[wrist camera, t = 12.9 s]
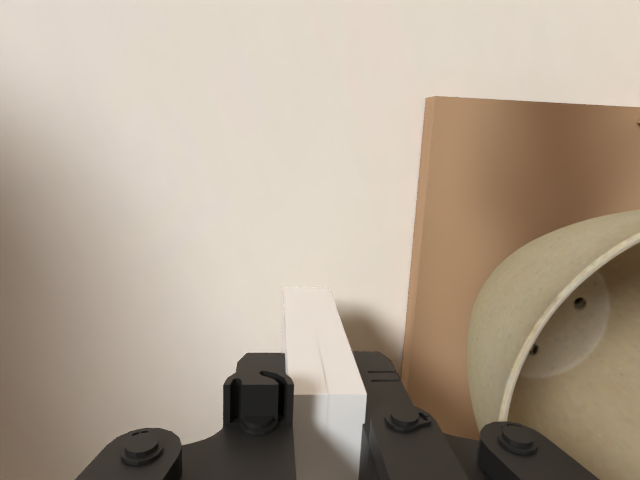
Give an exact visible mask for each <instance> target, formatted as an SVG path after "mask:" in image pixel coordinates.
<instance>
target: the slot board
mask: <svg viewBox="0 0 640 480" xmlns="http://www.w3.org/2000/svg"><path fill="white" fill-rule="evenodd" d="M633 210H640V107H622V106H604V105H585V104H567V103H549V102H531V101H513V100H495V99H477V98H459V97H441V96H434V97H429V98H426V102H425V113H424V125H423V136H422V147H421V158H420V169H419V181H418V192H417V203H416V214H415V225H414V236H413V248H412V259H411V270H410V281H409V292H408V304H407V315H406V326H405V337H404V348H403V360H402V371H401V382H402V383H403V385H404V387H405V389H406V391H407V393H408V395H409V397H410V399H411V401H412V403H413V405H414V406H415V407H419V408H421V409H423V410H424V411H426V412H428V413H429V414H431V416H432V417H433V418H434V419H435V420H436V421H437V423H438V425H439V427H440V429H441V430H442V432H443V433H446V434H449V435H453V436H457V437H462V438H468V439H473V440H478V441H479V437H480V434H479V430H478V427H477V423H476V420H475V416H474V411H473V407H472V402H471V397H470V391H469V384H468V376H467V362H466V347H467V335H468V327H469V321H470V317H471V313H472V309H473V306H474V303H475V301H476V298H477V296H478V294H479V292H480V290H481V288H482V286H483V284H484V283H485V281H486V280H487V278H488V277H489V276H490V274H491V273H492V272H493V271H494V269H495V268H496V267H497V266H498V265H499V264H500V263H501V262H502V261H504V260H505V259H506V258H507V257H508V256H509V255H511V254H512V253H513V252H515V251H516V250H517V249H519V248H521V247H522V246H524V245H525V244H527V243H529V242H531V241H533V240H535V239H537V238H539V237H541V236H543V235H545V234H548V233H550V232H553V231H555V230H557V229H560V228H563V227H566V226H568V225H571V224H574V223H578V222H581V221H584V220H588V219H592V218H596V217H600V216H604V215H610V214H615V213H620V212H626V211H633ZM579 300H580V298H578V299H576V300H575V302H578V301H579ZM536 351H537V346H535V347H534V348H533V353H535V352H536Z"/></svg>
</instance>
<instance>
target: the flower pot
mask: <svg viewBox="0 0 640 480" xmlns="http://www.w3.org/2000/svg"><path fill="white" fill-rule="evenodd" d="M578 298H580V300H579V301H578V302H575V300H576V299H578ZM535 346H537V351H536V352H535V353H533V348H534V347H535ZM466 362H467V376H468V384H469V391H470V397H471V402H472V407H473V411H474V416H475V420H476V423H477V427H478V430H479V434H480V431H481V430H482V428H483V427H484V426H485V425H486V424H489V423H492V422H500V421H509V422H512V423H514V422H515V423H520V424H522V425H524V426H527V427H529V428H532V429H534V430H536V431H537V432H539V433H540V434H542V435H544V436H545V437H546V438H548V439H549V440H550V441H552V442H553V443H554V444H555V445H557V446H558V447H559V448H560V449H562V450H563V451H564V452H565V453H567V454H568V455H569V456H571V457H572V458H573V459H574V460H576V461H577V462H578V463H579V464H581V465H582V466H583V467H584V468H586V469H587V470H588V471H590V472H591V473H592V474H593V475H595V476H596V477H597V478H598V479H600V480H640V210H633V211H626V212H620V213H615V214H610V215H604V216H600V217H596V218H592V219H588V220H584V221H581V222H578V223H574V224H571V225H568V226H566V227H563V228H560V229H557V230H555V231H553V232H550V233H548V234H545V235H543V236H541V237H539V238H537V239H535V240H533V241H531V242H529V243H527V244H525V245H524V246H522V247H521V248H519V249H517V250H516V251H515V252H513V253H512V254H511V255H509V256H508V257H507V258H506V259H505V260H504V261H502V262H501V263H500V264H499V265H498V266H497V267H496V268H495V269H494V271H493V272H492V273H491V274H490V276H489V277H488V278H487V280H486V281H485V283H484V284H483V286H482V288H481V290H480V292H479V294H478V296H477V298H476V301H475V303H474V306H473V309H472V313H471V317H470V321H469V327H468V335H467V347H466Z"/></svg>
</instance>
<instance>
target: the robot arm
mask: <svg viewBox="0 0 640 480" xmlns="http://www.w3.org/2000/svg"><path fill="white" fill-rule="evenodd" d="M75 480H600V479H598V478H597V477H596V476H595V475H593V474H592V473H591V472H590V471H588V470H587V469H586V468H584V467H583V466H582V465H581V464H579V463H578V462H577V461H576V460H574V459H573V458H572V457H571V456H569V455H568V454H567V453H565V452H564V451H563V450H562V449H560V448H559V447H558V446H557V445H555V444H554V443H553V442H552V441H550V440H549V439H548V438H546V437H545V436H544V435H542V434H540V433H539V432H537V431H536V430H534V429H532V428H529V427H527V426H524V425H522V424H520V423H515V422H514V423H512V422H509V421H500V422H492V423H489V424H486V425H485V426H484V427H483V428H482V430H481V431H480V437H479V441H478V440H473V439H468V438H462V437H457V436H453V435H449V434H446V433H443V432H442V430H441V429H440V427H439V425H438V423H437V421H436V420H435V419H434V418H433V417H432V416H431V414H429V413H428V412H426V411H424V410H423V409H421V408H419V407H415V406H414V405H413V403H412V401H411V399H410V397H409V395H408V393H407V391H406V389H405V387H404V385H403V383H402V382H401V379H400V378H399V376H398V374H397V373H396V370H395V368H394V366H393V364H392V362H391V360H389V359H388V358H387V357H385V356H384V355H383V354H381V353H380V352H352V351H351V348H350V345H349V342H348V339H347V336H346V333H345V331H344V328H343V325H342V322H341V319H340V316H339V314H338V311H337V308H336V305H335V302H334V299H333V297H332V294H331V291H330V288H329V287H286V286H283V316H282V347H281V353H246V354H245V355H244V356H243V357H242V358H241V359H240V360H239V361H238V363H237V369H236V373H234V374H233V375H231V376H230V377H228V378H227V380H226V381H225V383H224V385H223V428H222V430H220V431H219V432H218V433H216V434H215V435H213V436H211V437H209V438H207V439H205V440H202V441H199V442H195V443H191V444H187V445H181V442H180V438H179V437H178V436H176V435H175V434H174V433H173V432H171V431H168V430H164V429H161V428H144V429H138V430H134V431H130V432H128V433H126V434H124V435H121V436H119V437H117V438H116V439H114V440H113V441H112V442H111V443H109V444H108V445H107V446H106V447H105V448H104V449H103V450H102V451H101V452H100V453H99V454H98V456H97V457H96V458H95V459H94V460H93V461H92V462H91V463H90V464H89V465H88V466H87V467H86V468H85V470H84V471H83V472H82V473H81V474H80V475H79V476H78V477H77V478H76V479H75Z"/></svg>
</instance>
